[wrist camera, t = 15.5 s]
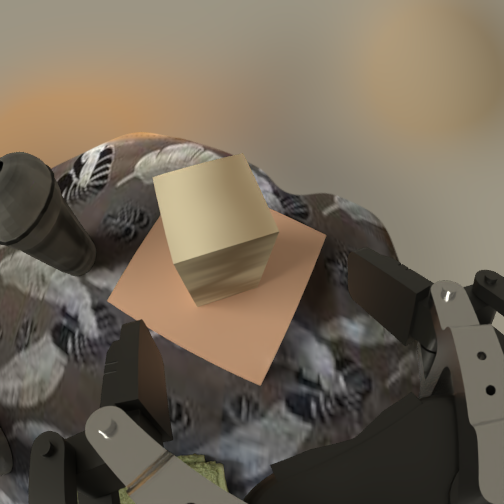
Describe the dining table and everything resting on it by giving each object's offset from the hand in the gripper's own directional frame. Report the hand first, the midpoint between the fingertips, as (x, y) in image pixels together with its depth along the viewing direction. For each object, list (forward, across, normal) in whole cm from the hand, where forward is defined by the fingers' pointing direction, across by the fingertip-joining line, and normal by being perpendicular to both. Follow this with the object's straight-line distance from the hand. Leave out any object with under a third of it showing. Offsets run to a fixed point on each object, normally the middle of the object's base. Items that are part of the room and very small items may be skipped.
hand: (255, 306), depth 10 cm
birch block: (+12, 0, +4) cm, 13 cm away
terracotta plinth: (+15, 0, +7) cm, 17 cm away
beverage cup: (+20, +14, +2) cm, 25 cm away
